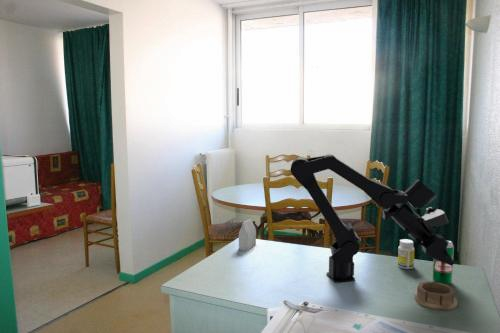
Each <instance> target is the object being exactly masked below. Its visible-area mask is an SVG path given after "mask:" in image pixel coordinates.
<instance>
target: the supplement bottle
mask: <svg viewBox="0 0 500 333" xmlns="http://www.w3.org/2000/svg"><path fill="white" fill-rule="evenodd" d="M397 253H398V255H397V266H398V267H399V268H401V269H404V270H406V269H407V270H410V269H413V268H414V267H415V247H414V240H413V239H407V238H403V239H399V246H398V248H397Z"/></svg>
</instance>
